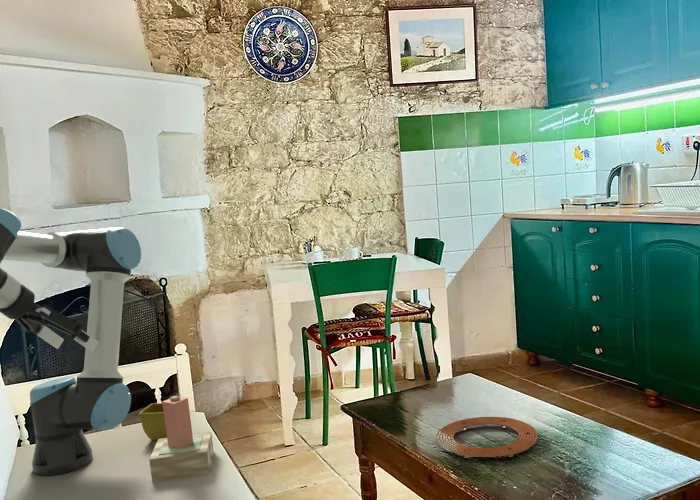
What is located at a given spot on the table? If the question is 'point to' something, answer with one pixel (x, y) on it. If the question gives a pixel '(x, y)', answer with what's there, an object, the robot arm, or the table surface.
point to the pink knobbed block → (177, 422)
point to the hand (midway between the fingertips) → (77, 345)
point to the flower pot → (154, 421)
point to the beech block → (182, 458)
